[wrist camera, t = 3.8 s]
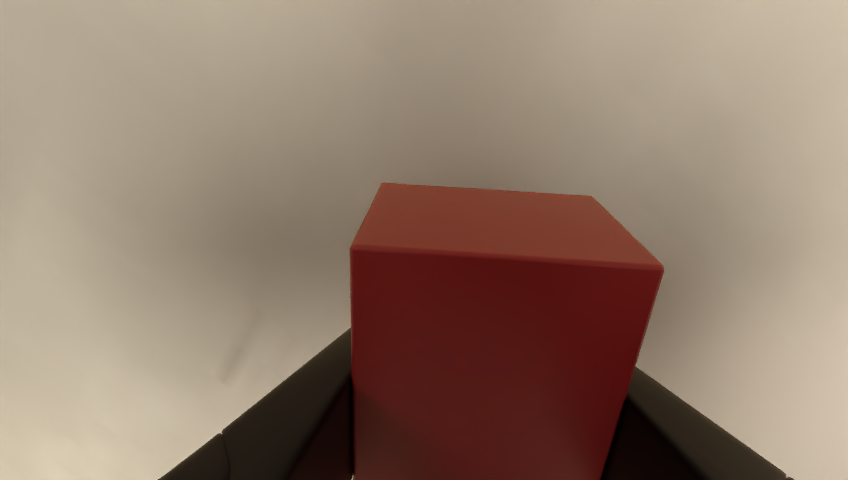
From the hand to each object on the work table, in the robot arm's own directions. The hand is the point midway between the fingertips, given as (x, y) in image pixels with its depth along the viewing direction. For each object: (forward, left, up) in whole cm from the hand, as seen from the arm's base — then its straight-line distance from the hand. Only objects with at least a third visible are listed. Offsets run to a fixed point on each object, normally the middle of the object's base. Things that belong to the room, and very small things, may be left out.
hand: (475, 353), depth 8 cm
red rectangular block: (0, 0, -1) cm, 1 cm away
